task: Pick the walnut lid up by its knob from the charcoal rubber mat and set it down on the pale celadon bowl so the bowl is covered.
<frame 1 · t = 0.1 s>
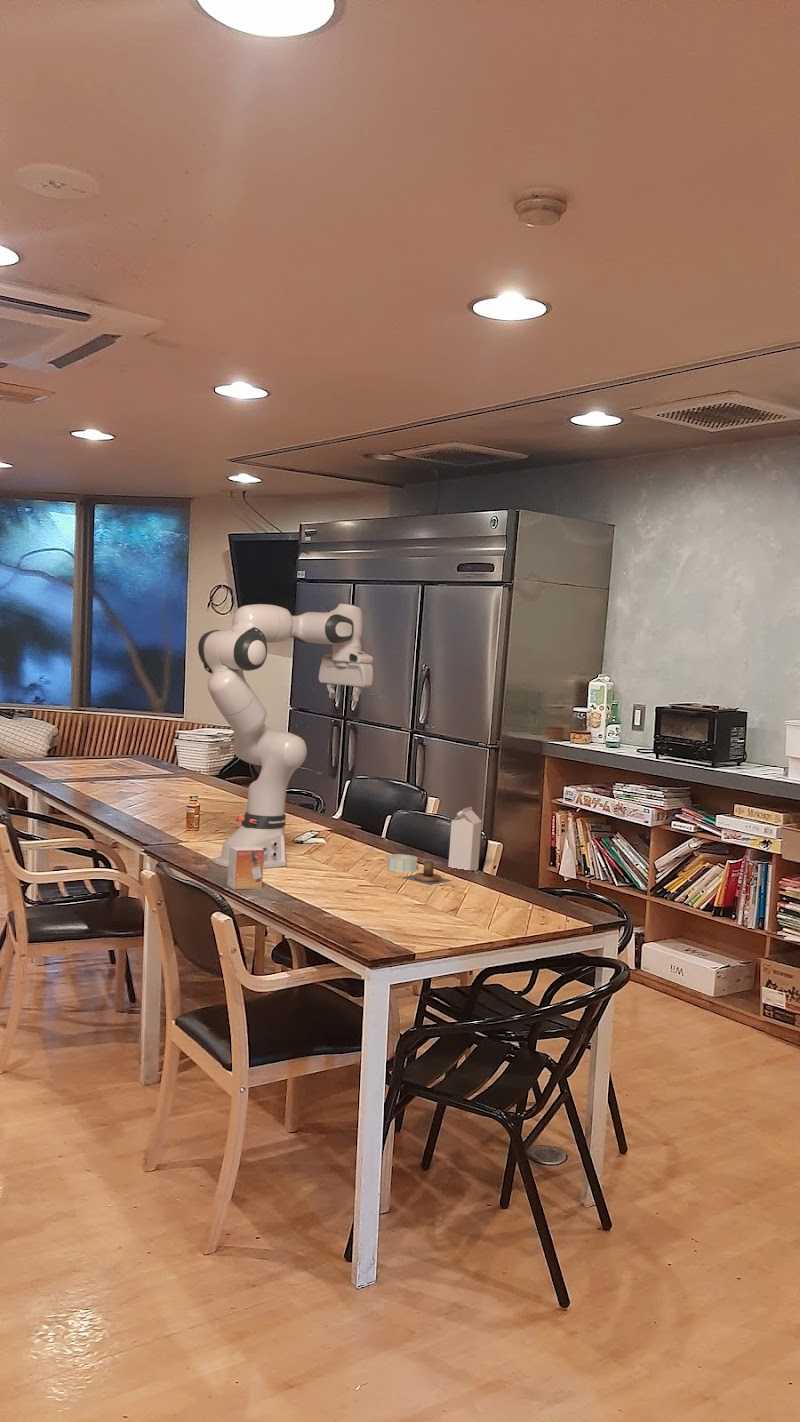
hand: (343, 699, 344), 48 cm above the table, fingers open, 8 cm apart
bowl: (401, 870, 323), on the table
mat: (426, 880, 312), on the table
small box: (244, 887, 288), on the table
lid: (427, 879, 311), resting on mat
milk carton: (463, 870, 329), on the table
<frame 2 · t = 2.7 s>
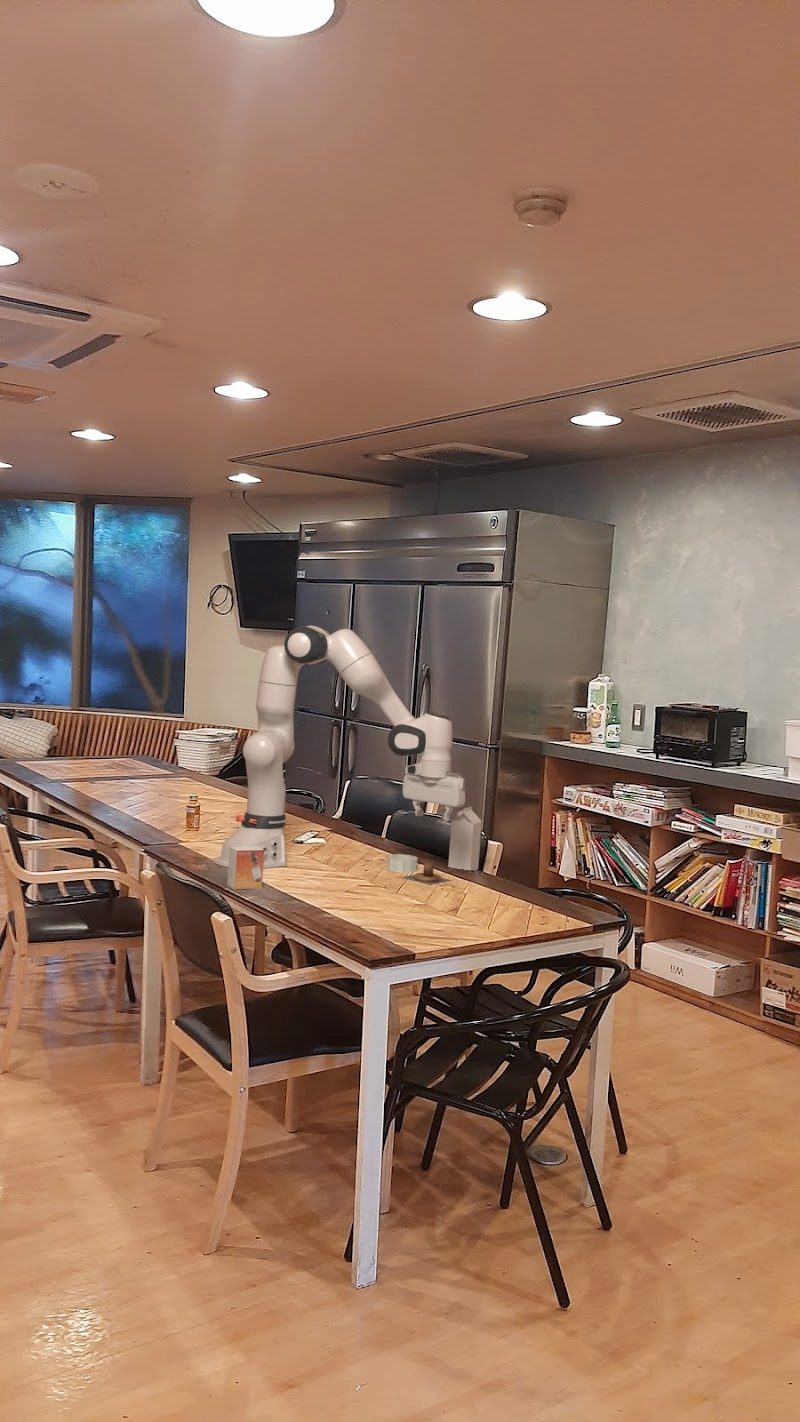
hand: (432, 818, 311), 18 cm above the table, fingers open, 8 cm apart
nothing on the table moved.
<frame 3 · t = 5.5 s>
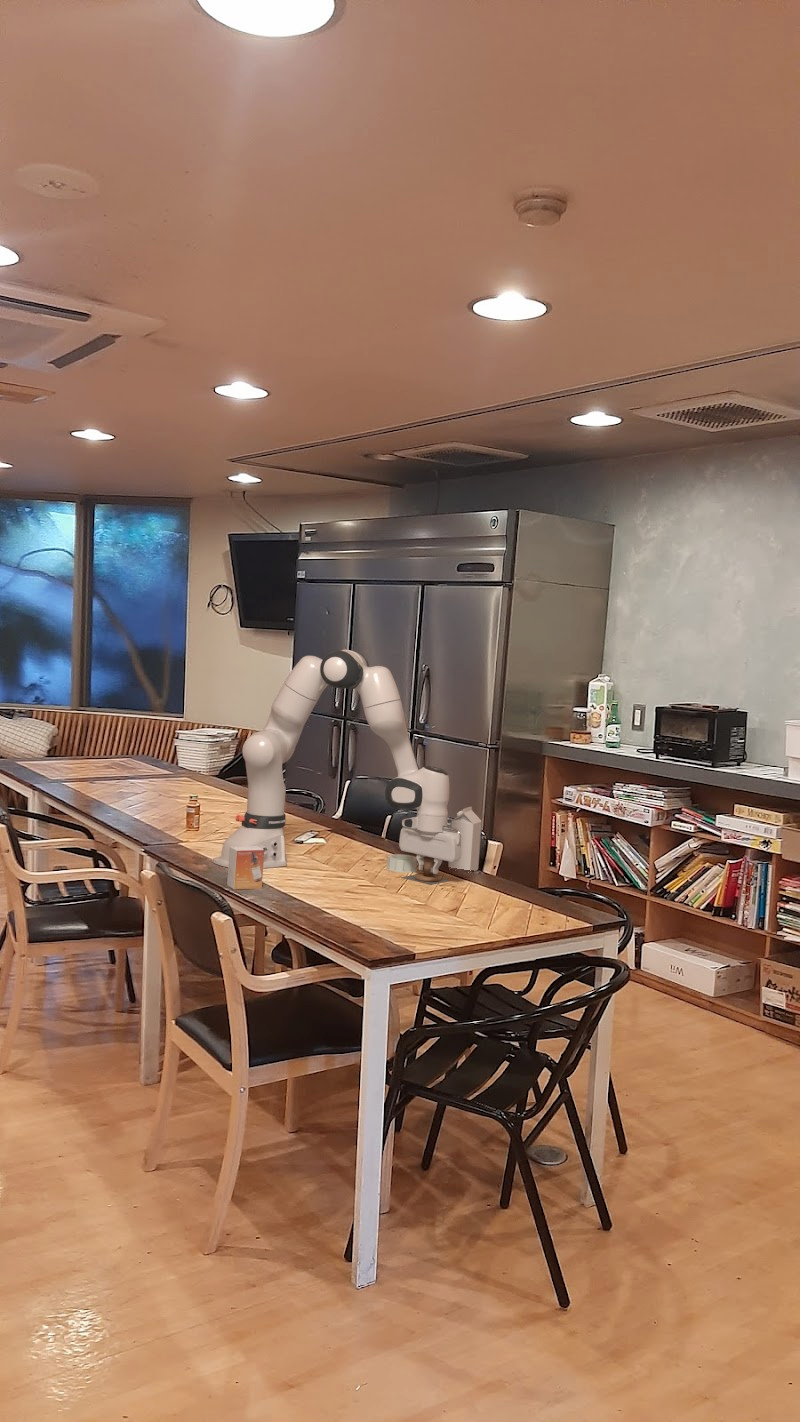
hand: (428, 871, 311), 3 cm above the table, fingers closed on lid, 3 cm apart
lid: (427, 879, 311), resting on mat, touching gripper
everything else where it was.
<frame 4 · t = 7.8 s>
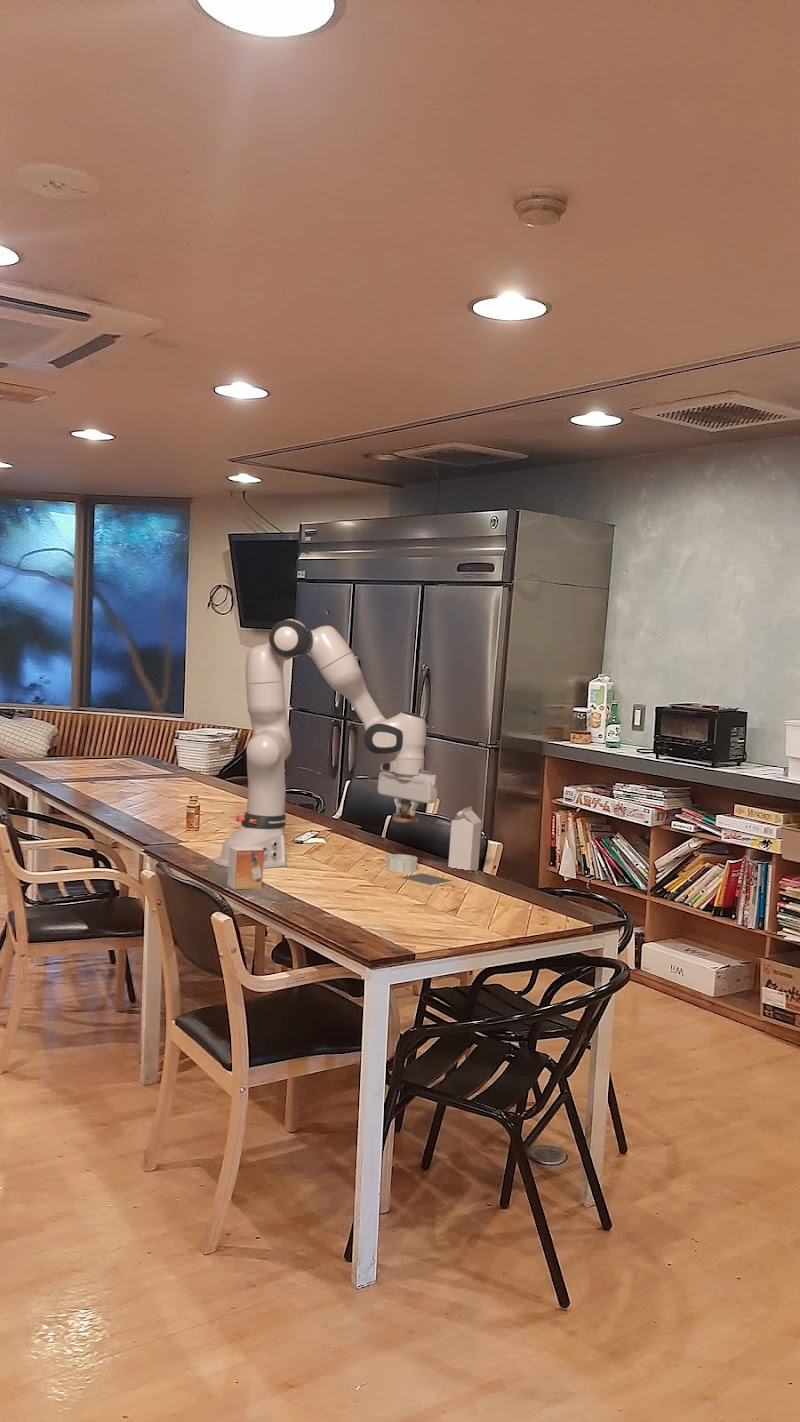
hand: (405, 814, 322), 17 cm above the table, fingers closed on lid, 3 cm apart
lid: (405, 821, 322), point 15 cm above the table, touching gripper
everything else where it was.
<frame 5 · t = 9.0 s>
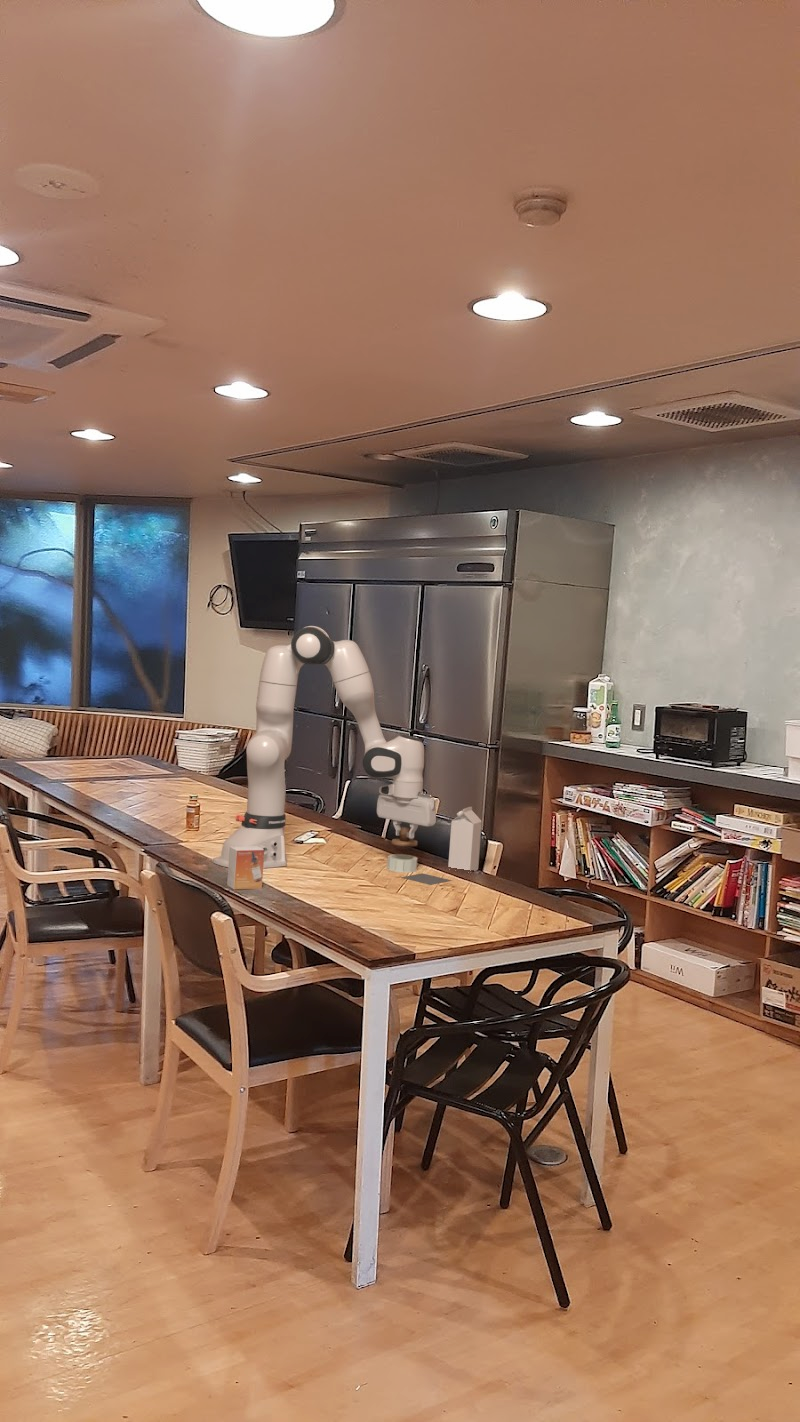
hand: (404, 837, 322), 10 cm above the table, fingers closed on lid, 3 cm apart
lid: (404, 844, 322), point 8 cm above the table, touching gripper
everything else where it was.
when the fingers open (7 cm above the table, at t = 10.2 s): lid stays where it is, resting on bowl.
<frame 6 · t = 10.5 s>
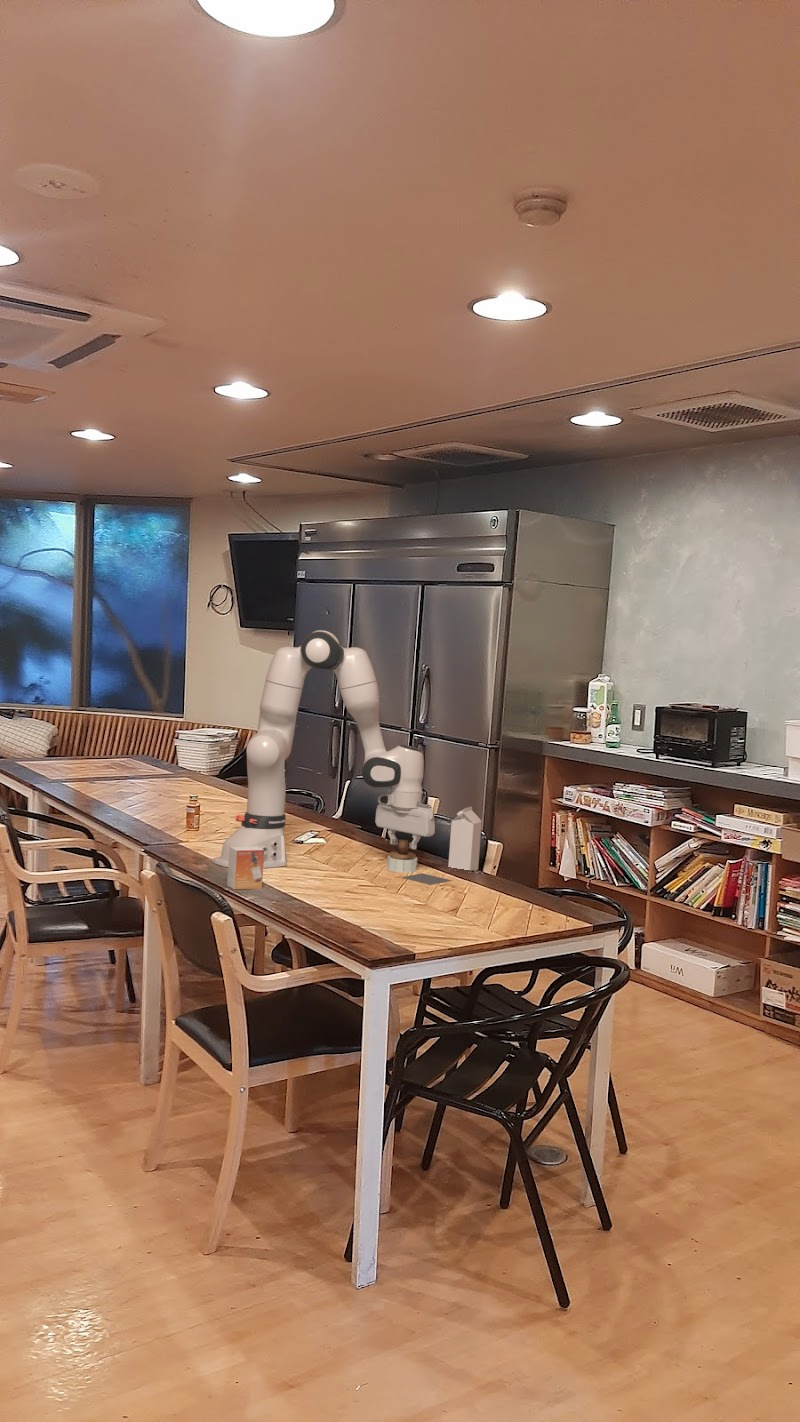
hand: (403, 846, 322), 7 cm above the table, fingers open, 6 cm apart
lid: (402, 857, 322), point 4 cm above the table, touching bowl
everything else where it was.
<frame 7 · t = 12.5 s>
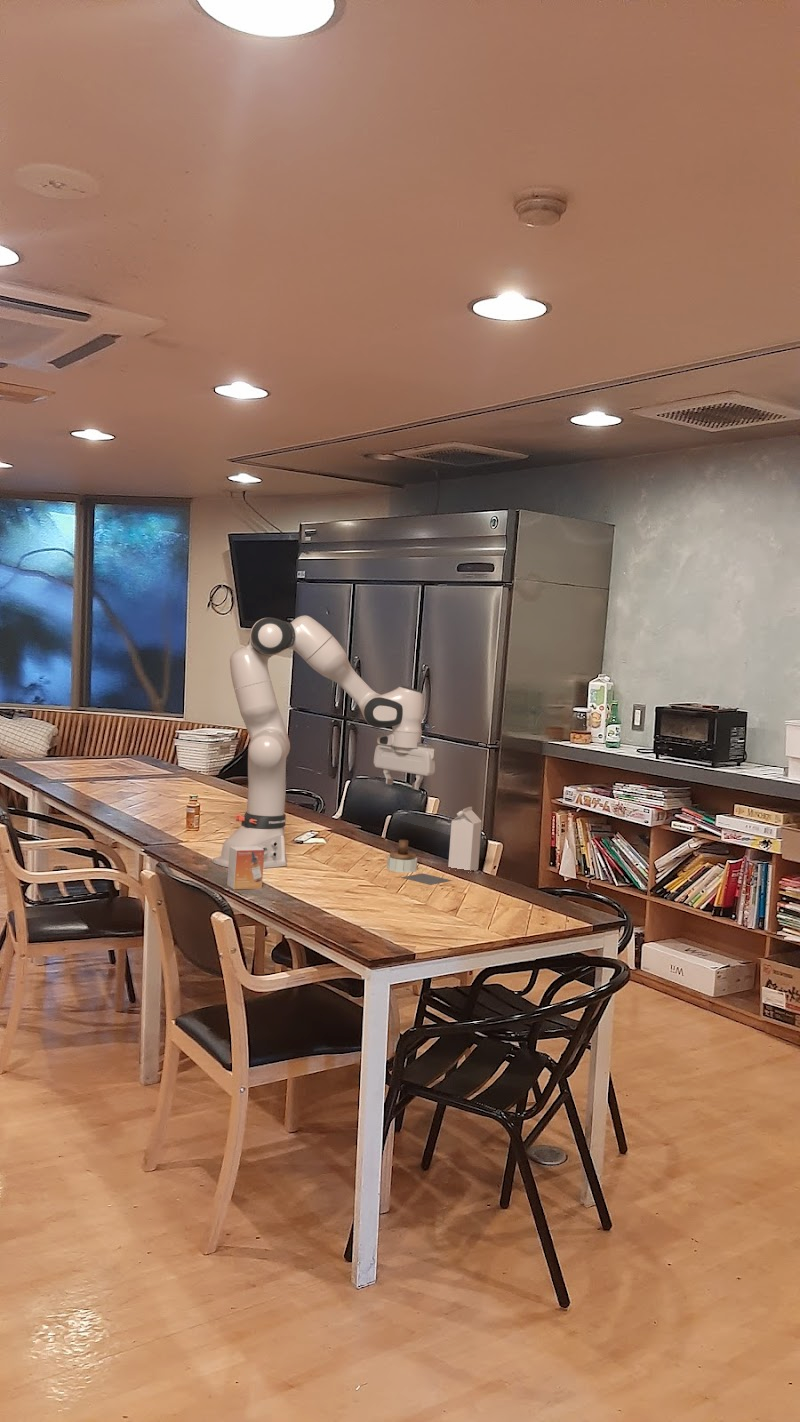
hand: (402, 786, 328), 24 cm above the table, fingers open, 8 cm apart
nothing on the table moved.
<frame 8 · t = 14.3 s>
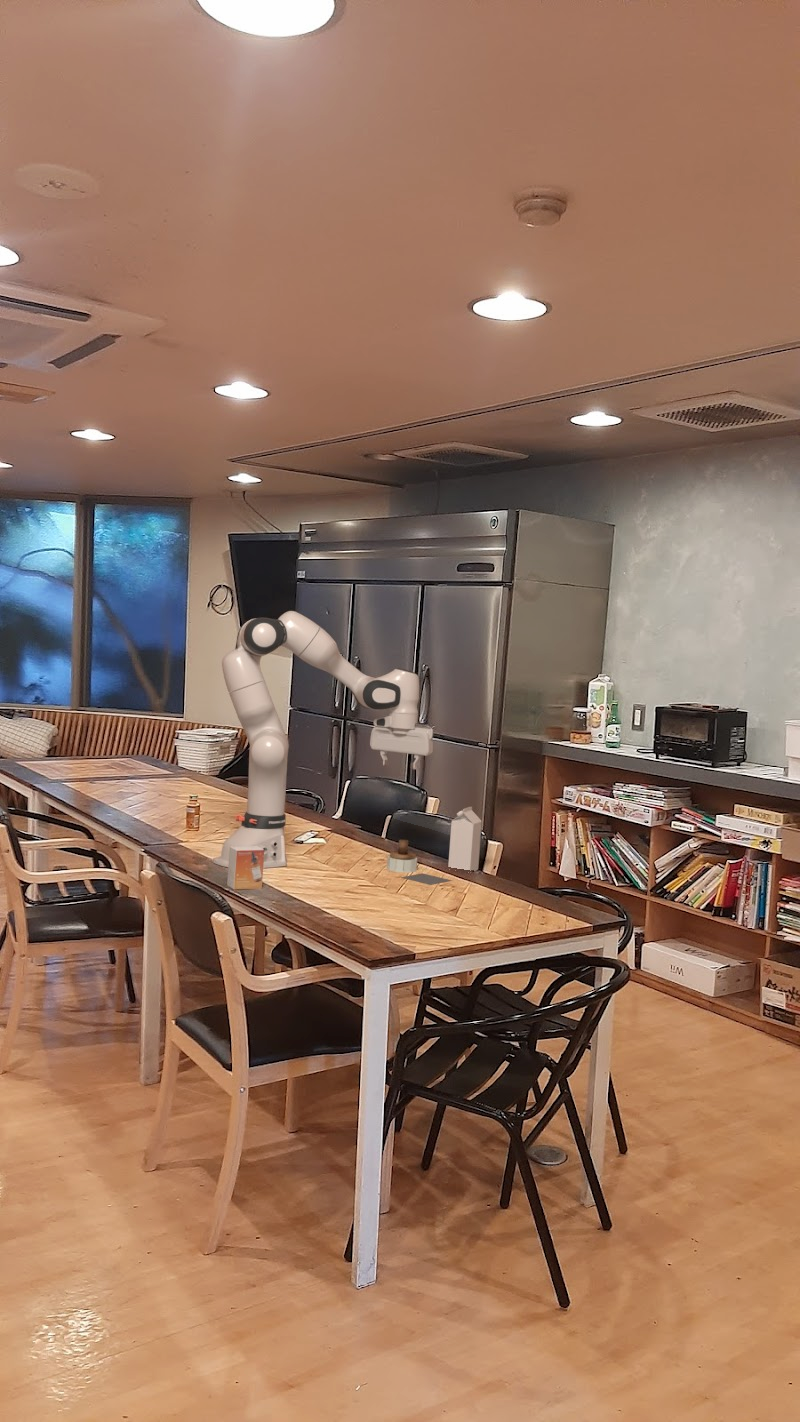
hand: (399, 767, 333), 29 cm above the table, fingers open, 8 cm apart
nothing on the table moved.
at the end: lid 0.0 cm off-centre on the bowl, point 4.0 cm above the bowl's base; lid tilted 0°; the gripper is holding nothing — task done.
